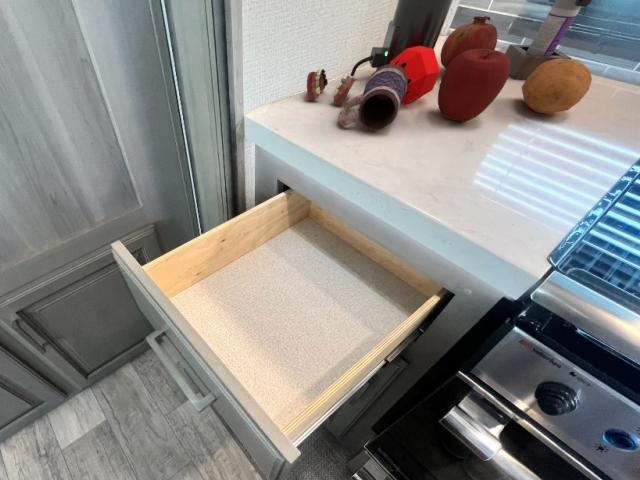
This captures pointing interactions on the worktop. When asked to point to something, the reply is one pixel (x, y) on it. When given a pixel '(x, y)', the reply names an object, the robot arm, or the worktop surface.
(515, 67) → the socket
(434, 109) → the worktop surface
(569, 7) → the container
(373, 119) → the mug
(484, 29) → the fruit
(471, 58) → the apple
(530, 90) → the potato
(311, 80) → the dentures
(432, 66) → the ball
